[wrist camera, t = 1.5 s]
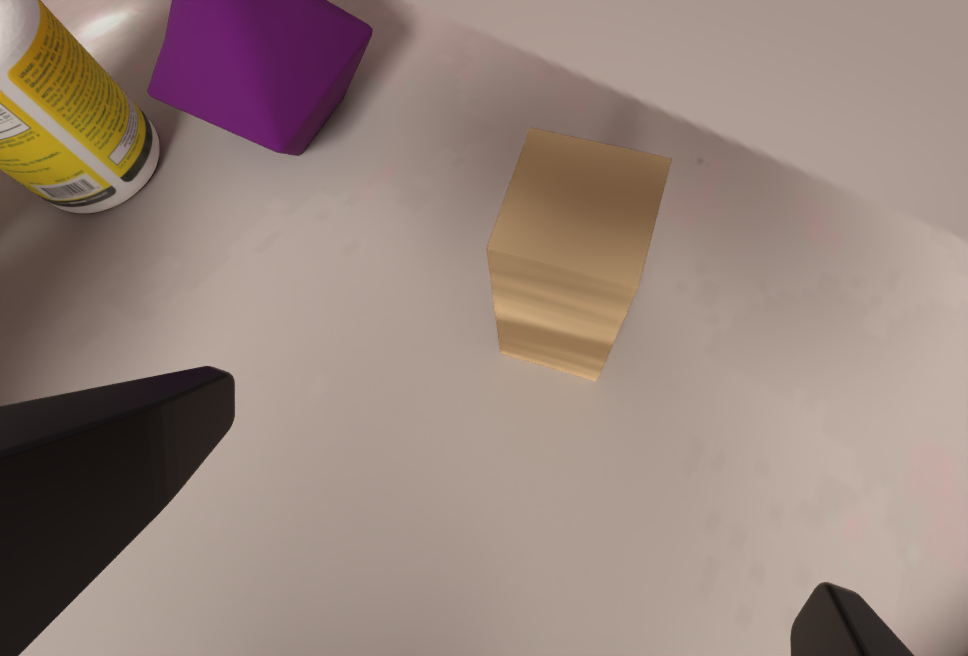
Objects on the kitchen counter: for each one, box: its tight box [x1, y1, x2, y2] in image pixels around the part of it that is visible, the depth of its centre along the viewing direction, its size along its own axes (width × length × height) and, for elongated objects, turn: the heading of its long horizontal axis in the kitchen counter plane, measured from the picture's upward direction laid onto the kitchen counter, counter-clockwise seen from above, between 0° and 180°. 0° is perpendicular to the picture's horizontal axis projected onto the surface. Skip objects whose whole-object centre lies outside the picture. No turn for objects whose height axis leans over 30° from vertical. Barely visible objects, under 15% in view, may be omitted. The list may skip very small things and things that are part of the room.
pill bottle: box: [0, 0, 159, 213], centre depth 23 cm, size 6×6×11 cm
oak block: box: [487, 128, 672, 381], centre depth 19 cm, size 4×4×9 cm
